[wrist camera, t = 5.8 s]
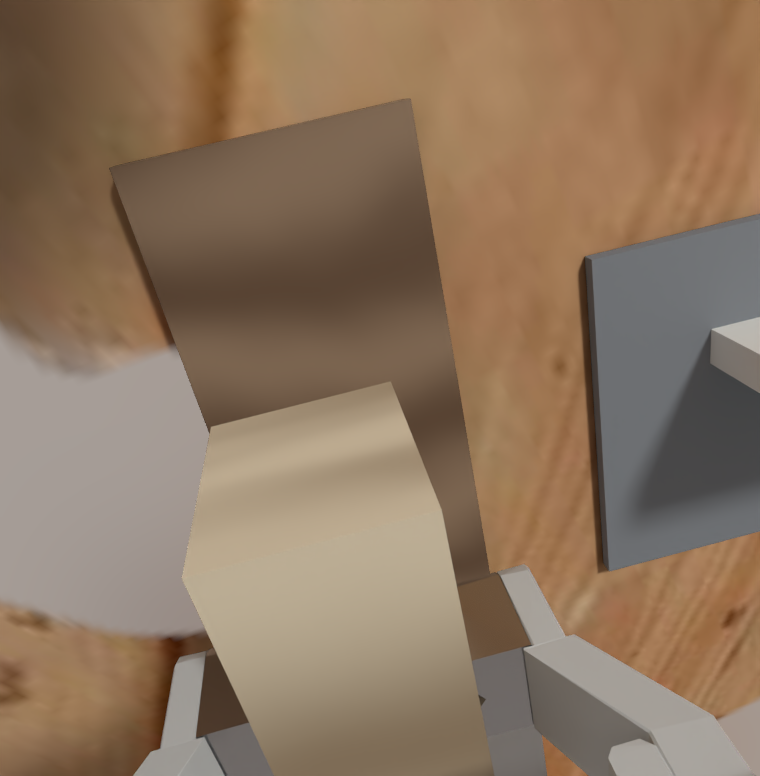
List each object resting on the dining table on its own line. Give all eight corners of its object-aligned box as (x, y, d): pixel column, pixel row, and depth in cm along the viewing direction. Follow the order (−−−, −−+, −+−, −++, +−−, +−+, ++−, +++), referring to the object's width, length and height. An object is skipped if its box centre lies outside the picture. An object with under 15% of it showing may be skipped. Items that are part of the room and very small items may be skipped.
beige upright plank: (119, 450, 10) (47, 614, 7) (478, 358, 10) (567, 477, 7) (327, 891, 16) (339, 1081, 13) (546, 827, 17) (609, 999, 13)
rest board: (116, 165, 21) (109, 168, 20) (405, 99, 21) (410, 98, 20) (289, 630, 30) (290, 647, 29) (487, 579, 31) (492, 593, 30)
